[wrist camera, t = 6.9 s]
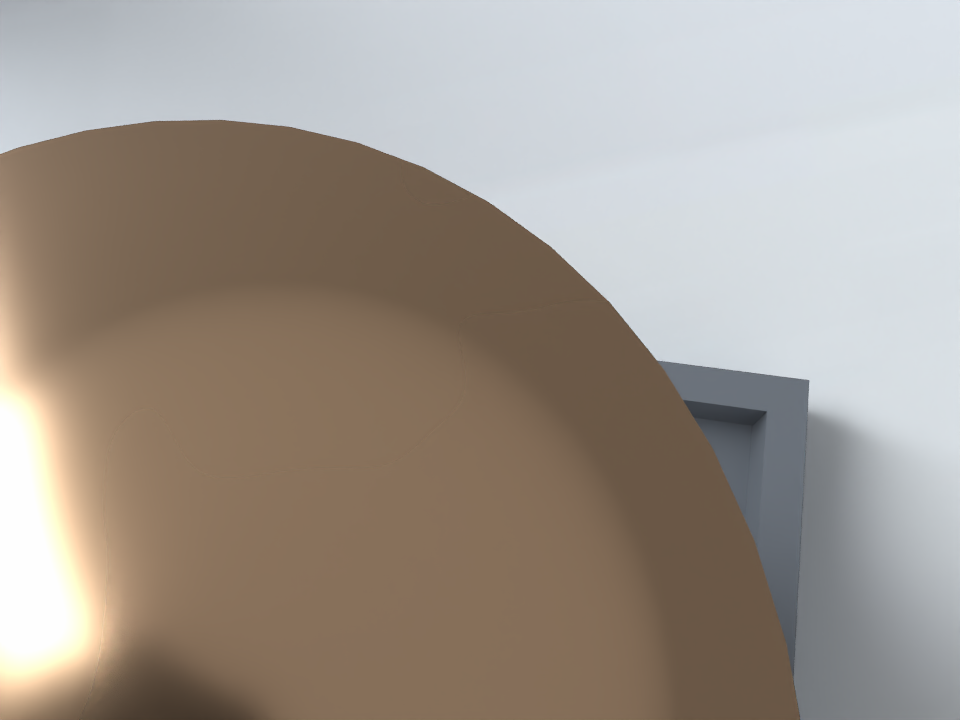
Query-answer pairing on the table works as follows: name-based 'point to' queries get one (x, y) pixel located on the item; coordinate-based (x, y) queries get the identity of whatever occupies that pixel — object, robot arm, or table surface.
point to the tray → (758, 463)
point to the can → (342, 455)
